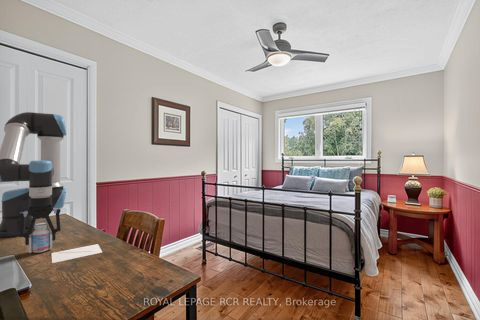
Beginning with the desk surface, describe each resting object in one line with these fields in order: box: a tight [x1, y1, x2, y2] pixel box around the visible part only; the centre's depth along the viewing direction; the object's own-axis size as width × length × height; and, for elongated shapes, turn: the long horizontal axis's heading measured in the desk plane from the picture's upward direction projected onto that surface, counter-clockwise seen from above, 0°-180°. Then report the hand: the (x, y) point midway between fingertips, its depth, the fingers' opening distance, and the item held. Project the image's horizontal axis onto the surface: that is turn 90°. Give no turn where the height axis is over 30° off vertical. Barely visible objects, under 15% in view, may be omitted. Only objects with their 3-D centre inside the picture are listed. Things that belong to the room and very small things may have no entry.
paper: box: [51, 243, 103, 264], centre depth 100 cm, size 12×17×1 cm
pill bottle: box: [31, 222, 51, 254], centre depth 102 cm, size 6×6×11 cm
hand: (40, 249), depth 102 cm, fingers closed on pill bottle, 6 cm apart
